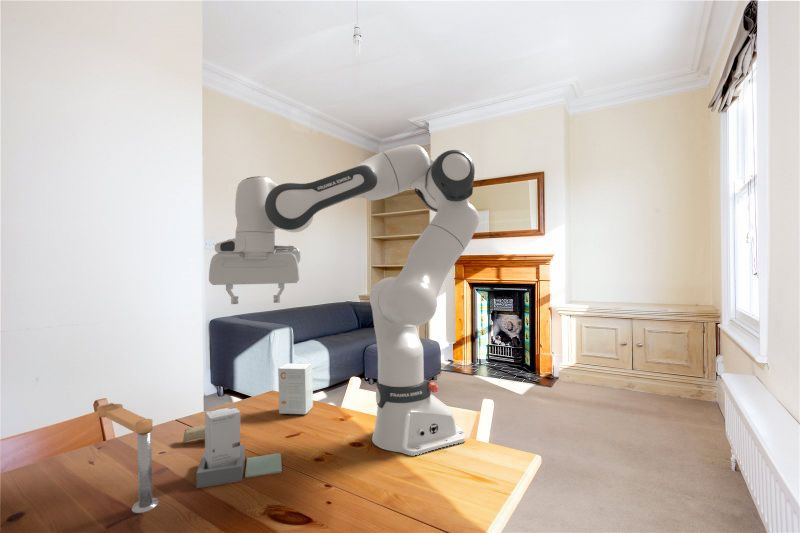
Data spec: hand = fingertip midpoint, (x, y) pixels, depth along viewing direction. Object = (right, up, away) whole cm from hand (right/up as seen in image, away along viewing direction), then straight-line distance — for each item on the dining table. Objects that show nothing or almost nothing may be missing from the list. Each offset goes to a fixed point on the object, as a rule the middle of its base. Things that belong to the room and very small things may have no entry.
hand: (256, 303), depth 96 cm
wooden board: (-17, -20, -21) cm, 34 cm away
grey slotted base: (-2, -33, -14) cm, 36 cm away
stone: (-16, -35, 0) cm, 38 cm away
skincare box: (-2, -33, -14) cm, 36 cm away
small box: (+4, -33, +20) cm, 39 cm away
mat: (+6, -33, -12) cm, 36 cm away
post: (-10, -33, -26) cm, 43 cm away
